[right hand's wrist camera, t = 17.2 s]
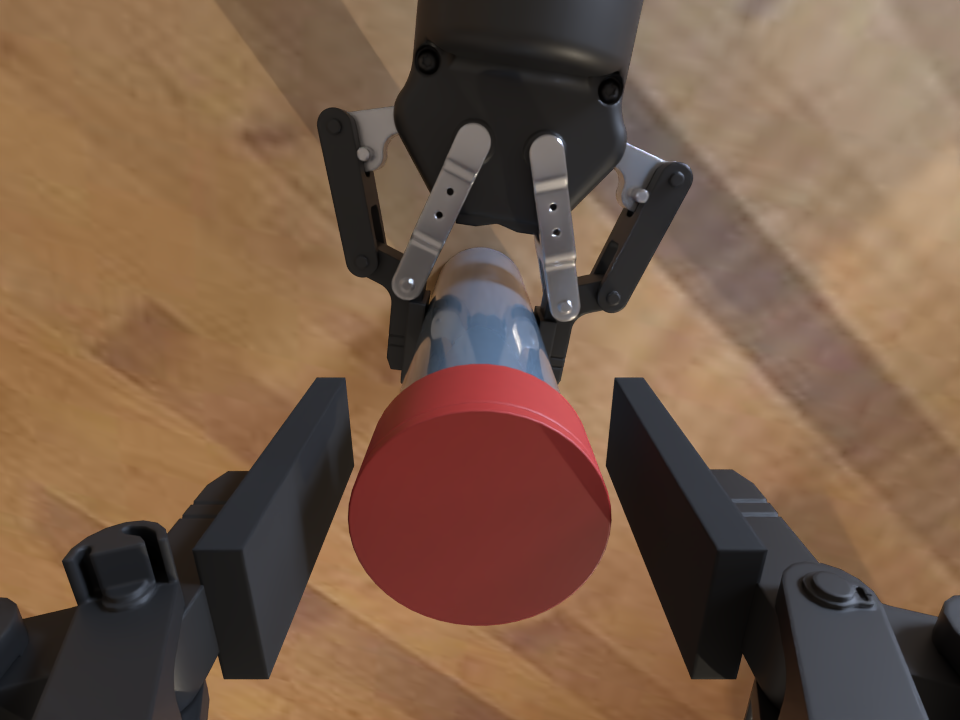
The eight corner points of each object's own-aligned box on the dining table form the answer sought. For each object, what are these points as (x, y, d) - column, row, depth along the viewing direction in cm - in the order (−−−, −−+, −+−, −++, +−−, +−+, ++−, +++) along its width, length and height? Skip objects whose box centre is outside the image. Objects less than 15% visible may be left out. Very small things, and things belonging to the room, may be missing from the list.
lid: (370, 544, 13) (349, 619, 11) (369, 354, 12) (344, 401, 9) (573, 556, 14) (591, 633, 11) (605, 370, 12) (632, 419, 10)
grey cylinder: (458, 231, 27) (420, 370, 10) (539, 270, 28) (635, 463, 11) (422, 311, 29) (335, 551, 11) (499, 346, 29) (527, 621, 12)
